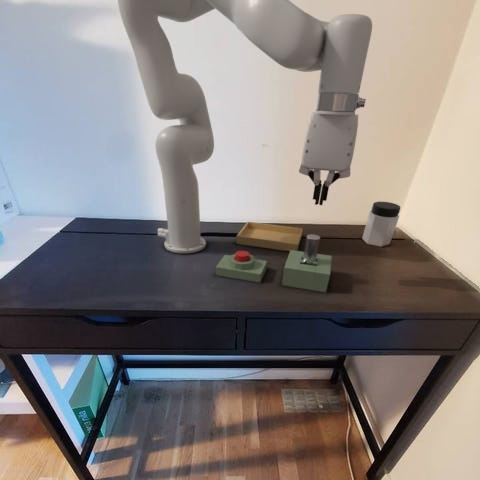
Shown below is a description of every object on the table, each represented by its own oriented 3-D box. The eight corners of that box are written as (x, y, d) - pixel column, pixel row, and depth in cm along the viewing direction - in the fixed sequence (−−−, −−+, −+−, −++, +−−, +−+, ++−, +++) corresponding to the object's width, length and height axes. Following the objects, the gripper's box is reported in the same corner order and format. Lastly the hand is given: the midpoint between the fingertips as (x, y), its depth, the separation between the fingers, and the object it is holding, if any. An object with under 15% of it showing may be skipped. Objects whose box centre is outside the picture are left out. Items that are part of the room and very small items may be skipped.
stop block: (215, 275, 82) (215, 261, 79) (224, 262, 88) (224, 249, 86) (260, 282, 79) (261, 268, 77) (266, 269, 86) (267, 255, 83)
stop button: (233, 261, 81) (233, 255, 80) (237, 256, 83) (237, 249, 82) (247, 263, 80) (247, 257, 79) (250, 257, 83) (250, 251, 82)
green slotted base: (281, 285, 79) (284, 267, 76) (288, 266, 87) (290, 249, 84) (325, 292, 77) (330, 274, 74) (327, 272, 85) (331, 255, 82)
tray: (236, 243, 99) (236, 235, 97) (247, 228, 110) (247, 221, 109) (296, 252, 95) (297, 244, 94) (301, 236, 106) (302, 228, 105)
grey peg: (296, 281, 81) (303, 238, 74) (298, 273, 84) (305, 232, 77) (313, 284, 80) (322, 241, 73) (314, 276, 83) (323, 234, 76)
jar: (377, 248, 100) (389, 210, 93) (357, 239, 105) (367, 203, 98) (394, 243, 104) (407, 206, 97) (373, 235, 109) (384, 200, 102)
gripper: (375, 106, 61) (352, 202, 72) (299, 103, 64) (288, 195, 75) (378, 107, 55) (353, 212, 66) (294, 103, 58) (283, 204, 69)
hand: (318, 203), depth 70 cm, fingers closed
